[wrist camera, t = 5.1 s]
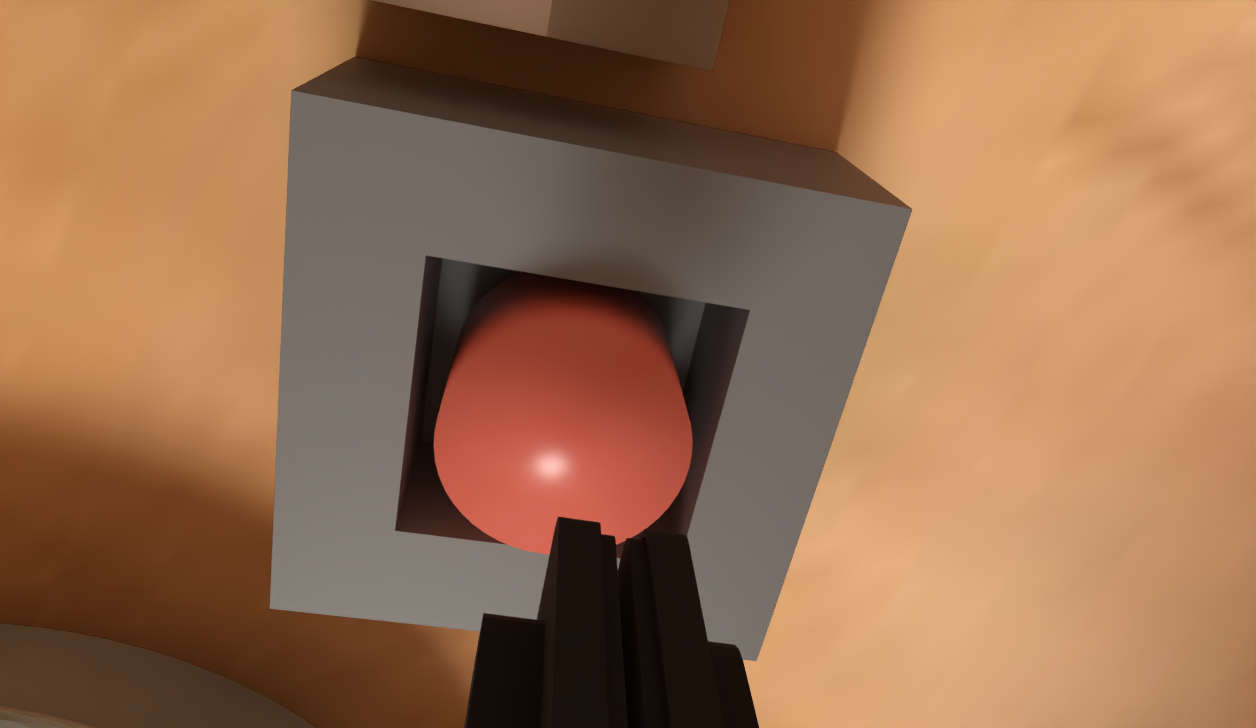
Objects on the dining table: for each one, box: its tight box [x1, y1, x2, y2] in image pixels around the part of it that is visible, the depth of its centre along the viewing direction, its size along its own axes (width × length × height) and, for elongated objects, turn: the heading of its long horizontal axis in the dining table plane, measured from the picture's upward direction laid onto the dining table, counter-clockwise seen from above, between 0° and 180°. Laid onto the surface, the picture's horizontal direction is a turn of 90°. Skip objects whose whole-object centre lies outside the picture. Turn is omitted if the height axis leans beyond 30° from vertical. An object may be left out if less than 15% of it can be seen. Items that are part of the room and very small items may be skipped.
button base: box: [270, 57, 912, 661], centre depth 16 cm, size 9×9×4 cm
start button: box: [434, 272, 693, 554], centre depth 15 cm, size 4×4×3 cm
